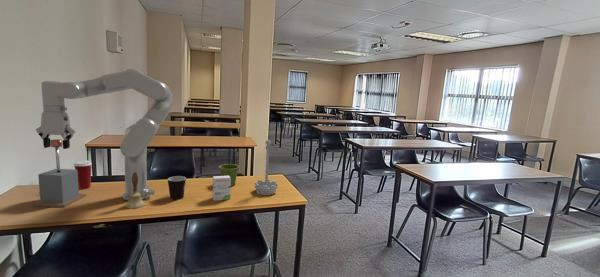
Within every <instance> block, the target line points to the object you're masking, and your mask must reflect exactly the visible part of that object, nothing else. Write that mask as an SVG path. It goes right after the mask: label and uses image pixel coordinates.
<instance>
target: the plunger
mask: <svg viewBox="0 0 600 277" xmlns="http://www.w3.org/2000/svg"><path fill="white" fill-rule="evenodd" d="M50 142H51V147H50V148H54V149H55V164H56V165H55V166H56V169H57V173H60V169H61V164H60V149H59V148H61V147H62V148H63V139H61V138H60V139H59V138H57V139H50Z"/></svg>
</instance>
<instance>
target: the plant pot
mask: <svg viewBox="0 0 600 277" xmlns="http://www.w3.org/2000/svg"><path fill="white" fill-rule="evenodd" d="M218 168H219V171H220V176H230V178H231V187H233V186H235V185H236V181H237V176H238V171H239V168H240V166H239V164H234V163H233V164H232V163H228V164H227V163H225V164H221V165H219V166H218Z"/></svg>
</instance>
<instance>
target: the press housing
mask: <svg viewBox="0 0 600 277" xmlns="http://www.w3.org/2000/svg"><path fill="white" fill-rule="evenodd" d="M37 178H38V187H39V189H38V190H39V200H37V201H34V202H32V203H31V205H32V207H47V206H49V207H50V208H51V207H52V208H66V207H67V206H70V205H72V204H74V203H76V202H78V201H79V200H82V199H83V198H86V196H87V194H86V193H80V191H79V190H80V189H78V172H77V170H75V168H74V169H72V168H71V169H70V168H60V173H57V168H53V169H51V170H47V171H44V172H41V173H38V177H37Z"/></svg>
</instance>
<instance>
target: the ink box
mask: <svg viewBox="0 0 600 277" xmlns="http://www.w3.org/2000/svg"><path fill="white" fill-rule="evenodd" d="M231 187H232V186H231V178H230V176H221V175H216V176H215V175H213V176H212V200H213V201H225V200H231Z"/></svg>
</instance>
